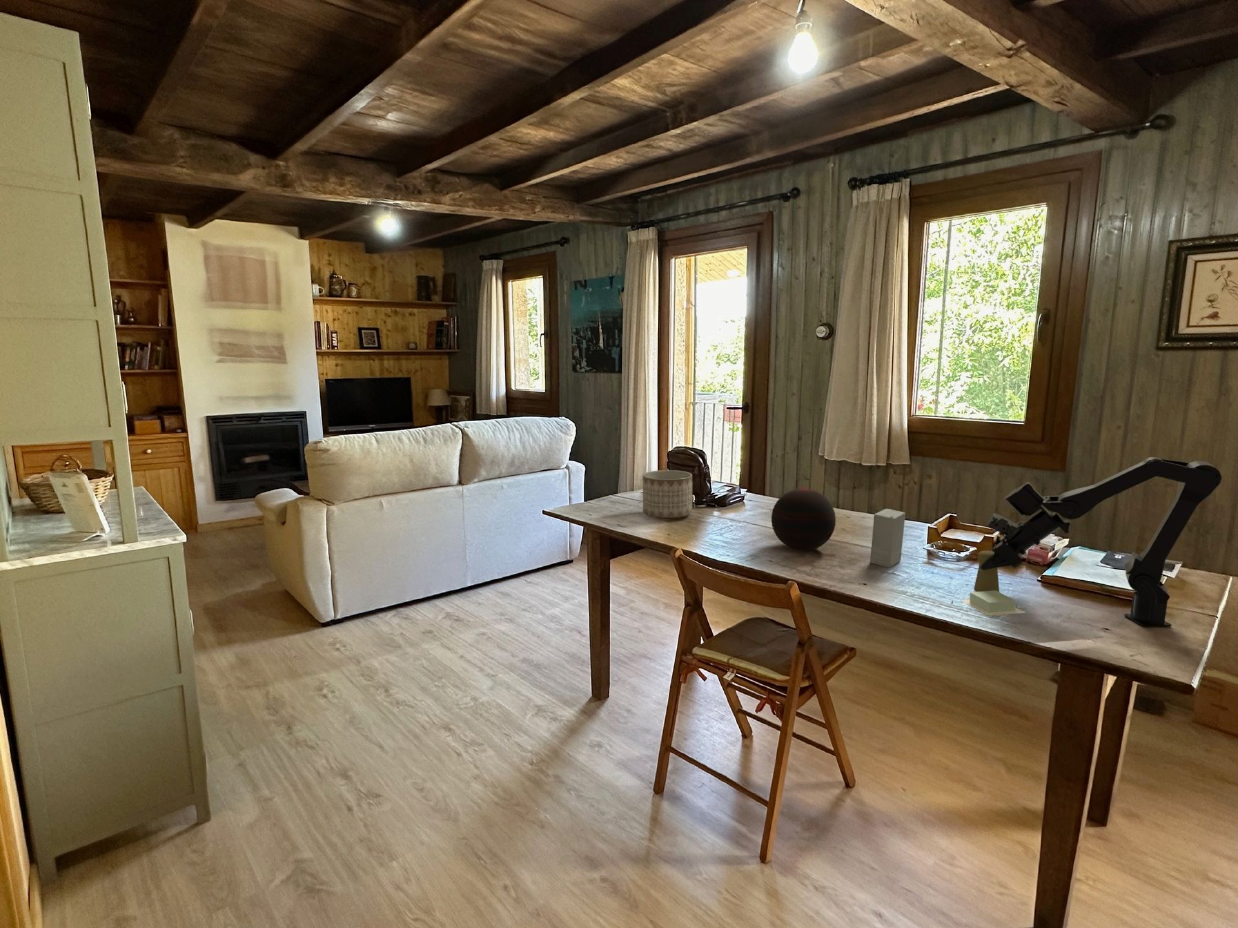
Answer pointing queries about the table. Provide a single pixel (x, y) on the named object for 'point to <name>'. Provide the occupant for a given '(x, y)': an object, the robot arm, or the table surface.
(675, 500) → the planter
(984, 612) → the tower slab
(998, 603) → the tower block
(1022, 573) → the table surface
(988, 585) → the olive pawn shaped peg
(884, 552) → the skincare box
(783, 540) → the decorative orb
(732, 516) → the table surface
